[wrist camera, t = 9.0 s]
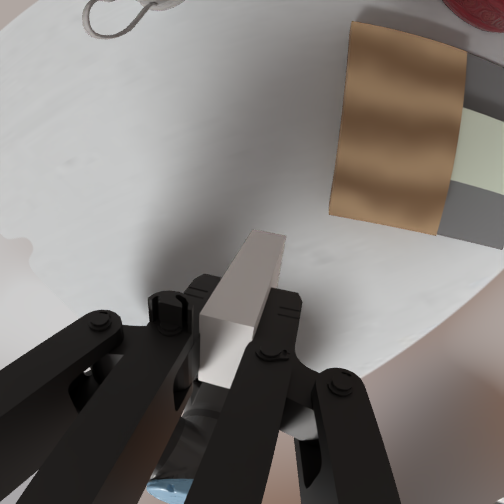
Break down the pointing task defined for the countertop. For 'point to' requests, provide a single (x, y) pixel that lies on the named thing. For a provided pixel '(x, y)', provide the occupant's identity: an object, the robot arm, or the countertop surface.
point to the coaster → (480, 152)
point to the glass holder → (149, 0)
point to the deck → (397, 128)
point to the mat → (467, 196)
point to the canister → (480, 13)
